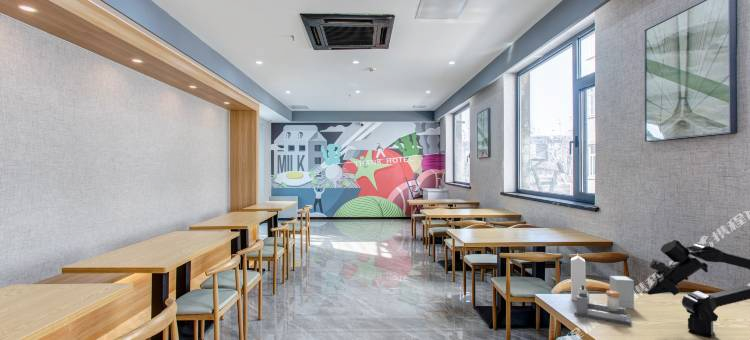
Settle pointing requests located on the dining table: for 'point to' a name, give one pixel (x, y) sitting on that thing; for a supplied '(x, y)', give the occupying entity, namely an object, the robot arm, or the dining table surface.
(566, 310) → the dining table surface
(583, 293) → the potentiometer
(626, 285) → the supplement box
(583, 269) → the milk
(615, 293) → the knob
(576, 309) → the mount
